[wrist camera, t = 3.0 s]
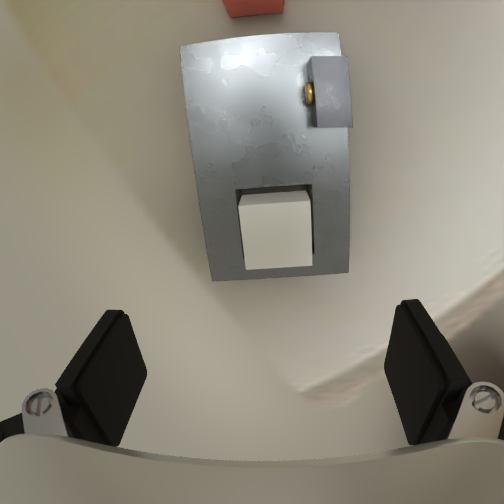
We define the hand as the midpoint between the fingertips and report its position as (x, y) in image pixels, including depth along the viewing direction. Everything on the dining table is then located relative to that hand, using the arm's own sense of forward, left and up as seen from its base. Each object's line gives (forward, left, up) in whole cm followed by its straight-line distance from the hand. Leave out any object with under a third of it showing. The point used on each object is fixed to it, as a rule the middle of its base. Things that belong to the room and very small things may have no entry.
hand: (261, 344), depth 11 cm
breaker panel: (-1, -3, -19) cm, 20 cm away
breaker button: (-1, +2, -16) cm, 16 cm away
